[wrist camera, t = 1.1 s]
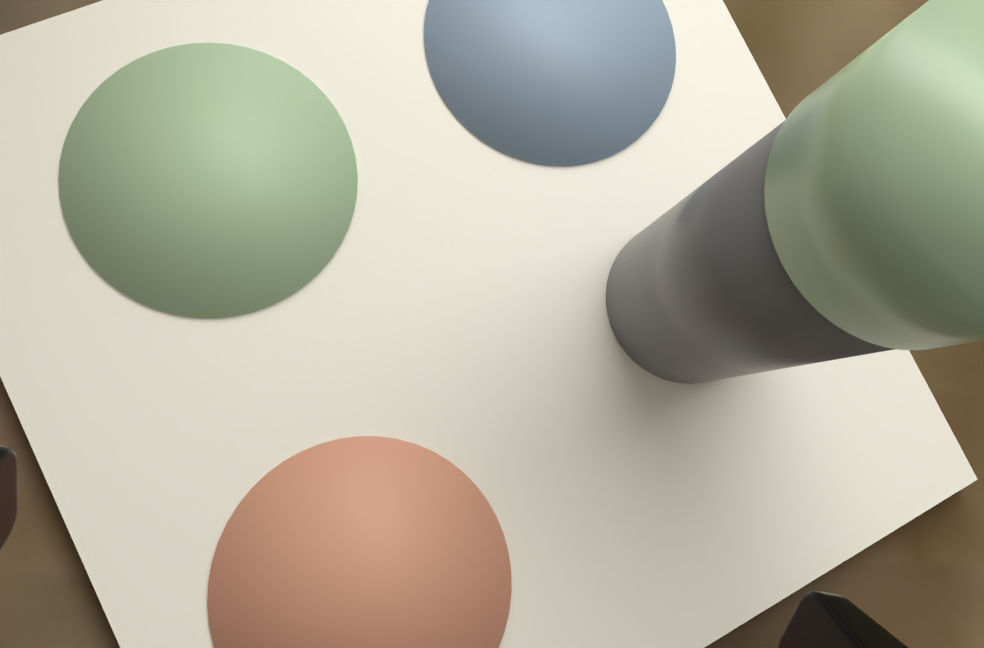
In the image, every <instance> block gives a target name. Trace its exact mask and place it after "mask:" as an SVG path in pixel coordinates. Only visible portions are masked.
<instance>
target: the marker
mask: <svg viewBox="0 0 984 648" xmlns="http://www.w3.org/2000/svg"><path fill="white" fill-rule="evenodd" d="M606 308H607V314H608V318H609V322H610V325H611V328H612V330H613V332H614V335H615V337H616V339H617V340H618V342H619V344H620V345H621V347H622V348H623V349H624V351H625V352H626V353H627V355H628V356H629V357H630V358H631V359H632V360H633V361H634V362H635V363H637V364H638V365H639V366H640V367H642V368H643V369H644V370H646V371H648V372H649V373H651V374H653V375H655V376H657V377H659V378H662V379H664V380H668V381H671V382H677V383H684V384H695V383H702V382H708V381H714V380H720V379H726V378H732V377H737V376H743V375H749V374H755V373H761V372H767V371H772V370H778V369H784V368H790V367H796V366H801V365H807V364H813V363H819V362H825V361H830V360H836V359H842V358H848V357H854V356H859V355H865V354H871V353H877V352H883V351H888V350H894V349H899V350H925V349H933V348H940V347H946V346H952V345H958V344H964V343H971V342H977V341H983V340H984V0H929V1H928V2H926V3H925V4H924V5H923V6H921V7H920V8H919V9H917V10H916V11H915V12H914V13H912V14H911V15H910V16H908V17H907V18H906V19H905V20H903V21H902V22H901V23H900V24H898V25H897V26H896V27H895V28H893V29H892V30H891V31H889V32H888V33H887V34H886V35H884V36H883V37H882V38H881V39H879V40H878V41H877V42H875V43H874V44H873V45H872V46H870V47H869V48H868V49H867V50H865V51H864V52H863V53H861V54H860V55H859V56H858V57H856V58H855V59H854V60H853V61H851V62H850V63H849V64H847V65H846V66H845V67H844V68H842V69H841V70H840V71H839V72H837V73H836V74H835V75H834V76H832V77H831V78H830V79H828V80H827V81H826V82H825V83H823V84H822V85H821V86H820V87H818V88H817V89H816V90H814V91H813V92H812V93H811V94H809V95H808V96H807V97H806V98H804V99H803V100H802V101H801V102H800V103H799V104H798V105H797V106H796V107H795V108H794V109H793V110H792V112H791V113H790V114H789V116H788V117H787V119H786V120H785V121H783V122H782V123H781V124H780V125H778V126H777V127H776V128H774V129H773V130H772V131H771V132H769V133H768V134H767V135H765V136H764V137H763V138H761V139H760V140H759V141H758V142H756V143H755V144H754V145H752V146H751V147H750V148H748V149H747V150H746V151H745V152H743V153H742V154H741V155H739V156H738V157H737V158H735V159H734V160H733V161H732V162H730V163H729V164H728V165H726V166H725V167H724V168H723V169H721V170H720V171H719V172H717V173H716V174H715V175H713V176H712V177H711V178H710V179H708V180H707V181H706V182H704V183H703V184H702V185H700V186H699V187H698V188H697V189H695V190H694V191H693V192H691V193H690V194H689V195H688V196H686V197H685V198H684V199H682V200H681V201H680V202H678V203H677V204H676V205H675V206H673V207H672V208H671V209H669V210H668V211H667V212H665V213H664V214H663V215H662V216H660V217H659V218H658V219H656V220H655V221H654V222H652V223H651V224H650V225H649V226H647V227H646V228H645V229H643V230H642V231H641V232H640V233H638V234H637V235H636V236H634V237H633V238H632V239H631V240H630V241H629V242H628V243H627V244H626V245H625V246H624V247H623V248H622V249H621V251H620V252H619V253H618V255H617V257H616V259H615V260H614V262H613V264H612V267H611V270H610V272H609V276H608V280H607V286H606Z"/></svg>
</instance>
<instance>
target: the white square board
mask: <svg viewBox="0 0 984 648" xmlns="http://www.w3.org/2000/svg"><path fill="white" fill-rule="evenodd" d="M785 120H786V119H785V117H784V115H783V113H782V111H781V109H780V107H779V105H778V104H777V102H776V100H775V98H774V96H773V94H772V92H771V90H770V89H769V87H768V85H767V83H766V81H765V79H764V77H763V75H762V74H761V72H760V70H759V68H758V66H757V64H756V62H755V60H754V59H753V57H752V55H751V53H750V51H749V49H748V47H747V45H746V44H745V42H744V40H743V38H742V36H741V34H740V32H739V30H738V28H737V27H736V25H735V23H734V21H733V19H732V17H731V15H730V13H729V12H728V10H727V8H726V6H725V4H724V2H723V0H103V1H100V2H97V3H94V4H91V5H88V6H85V7H82V8H79V9H76V10H73V11H70V12H67V13H64V14H61V15H58V16H55V17H52V18H49V19H46V20H43V21H40V22H37V23H34V24H31V25H28V26H25V27H22V28H19V29H16V30H13V31H11V32H8V33H5V34H2V35H0V377H1V379H2V382H3V384H4V386H5V388H6V391H7V393H8V395H9V397H10V400H11V402H12V404H13V406H14V409H15V411H16V413H17V415H18V418H19V420H20V422H21V424H22V427H23V429H24V431H25V433H26V436H27V438H28V440H29V443H30V445H31V447H32V449H33V452H34V454H35V456H36V458H37V461H38V463H39V465H40V467H41V470H42V472H43V474H44V476H45V479H46V481H47V483H48V485H49V488H50V490H51V492H52V494H53V497H54V499H55V501H56V504H57V506H58V508H59V510H60V513H61V515H62V517H63V519H64V522H65V524H66V526H67V528H68V531H69V533H70V535H71V537H72V540H73V542H74V544H75V546H76V549H77V551H78V553H79V555H80V558H81V560H82V562H83V564H84V567H85V569H86V571H87V574H88V576H89V578H90V580H91V583H92V585H93V587H94V589H95V592H96V594H97V596H98V598H99V601H100V603H101V605H102V607H103V610H104V612H105V614H106V616H107V619H108V621H109V623H110V625H111V628H112V630H113V632H114V634H115V637H116V639H117V641H118V644H119V646H120V648H704V647H706V646H708V645H709V644H711V643H713V642H714V641H716V640H717V639H719V638H721V637H722V636H724V635H726V634H727V633H729V632H730V631H732V630H734V629H735V628H737V627H739V626H740V625H742V624H743V623H745V622H747V621H748V620H750V619H751V618H753V617H755V616H756V615H758V614H760V613H761V612H763V611H764V610H766V609H768V608H769V607H771V606H773V605H774V604H776V603H777V602H779V601H781V600H782V599H784V598H786V597H787V596H789V595H790V594H792V593H794V592H795V591H797V590H799V589H800V588H802V587H803V586H805V585H807V584H808V583H810V582H812V581H813V580H815V579H816V578H818V577H820V576H821V575H823V574H825V573H826V572H828V571H829V570H831V569H833V568H834V567H836V566H838V565H839V564H841V563H842V562H844V561H846V560H847V559H849V558H851V557H852V556H854V555H855V554H857V553H859V552H860V551H862V550H864V549H865V548H867V547H868V546H870V545H872V544H873V543H875V542H877V541H878V540H880V539H881V538H883V537H885V536H886V535H888V534H890V533H891V532H893V531H894V530H896V529H898V528H899V527H901V526H903V525H904V524H906V523H907V522H909V521H911V520H912V519H914V518H916V517H917V516H919V515H920V514H922V513H924V512H925V511H927V510H929V509H930V508H932V507H933V506H935V505H937V504H938V503H940V502H942V501H943V500H945V499H946V498H948V497H950V496H951V495H953V494H955V493H956V492H958V491H959V490H961V489H963V488H964V487H966V486H968V485H969V484H971V483H972V482H974V481H976V480H977V477H976V476H975V474H974V472H973V470H972V468H971V466H970V464H969V462H968V460H967V459H966V457H965V455H964V453H963V451H962V449H961V447H960V445H959V444H958V442H957V440H956V438H955V436H954V434H953V432H952V430H951V429H950V427H949V425H948V423H947V421H946V419H945V417H944V415H943V414H942V412H941V410H940V408H939V406H938V404H937V402H936V400H935V399H934V397H933V395H932V393H931V391H930V389H929V387H928V385H927V383H926V382H925V380H924V378H923V376H922V374H921V372H920V370H919V368H918V367H917V365H916V363H915V361H914V359H913V357H912V355H911V353H910V352H909V350H899V349H894V350H888V351H883V352H877V353H871V354H865V355H859V356H854V357H848V358H842V359H836V360H830V361H825V362H819V363H813V364H807V365H801V366H796V367H790V368H784V369H778V370H772V371H767V372H761V373H755V374H749V375H743V376H737V377H732V378H726V379H720V380H714V381H708V382H702V383H695V384H684V383H677V382H671V381H668V380H664V379H662V378H659V377H657V376H655V375H653V374H651V373H649V372H648V371H646V370H644V369H643V368H642V367H640V366H639V365H638V364H637V363H635V362H634V361H633V360H632V359H631V358H630V357H629V356H628V355H627V353H626V352H625V351H624V349H623V348H622V347H621V345H620V344H619V342H618V340H617V339H616V337H615V335H614V332H613V330H612V328H611V325H610V322H609V318H608V314H607V308H606V286H607V280H608V276H609V272H610V270H611V267H612V264H613V262H614V260H615V259H616V257H617V255H618V253H619V252H620V251H621V249H622V248H623V247H624V246H625V245H626V244H627V243H628V242H629V241H630V240H631V239H632V238H633V237H634V236H636V235H637V234H638V233H640V232H641V231H642V230H643V229H645V228H646V227H647V226H649V225H650V224H651V223H652V222H654V221H655V220H656V219H658V218H659V217H660V216H662V215H663V214H664V213H665V212H667V211H668V210H669V209H671V208H672V207H673V206H675V205H676V204H677V203H678V202H680V201H681V200H682V199H684V198H685V197H686V196H688V195H689V194H690V193H691V192H693V191H694V190H695V189H697V188H698V187H699V186H700V185H702V184H703V183H704V182H706V181H707V180H708V179H710V178H711V177H712V176H713V175H715V174H716V173H717V172H719V171H720V170H721V169H723V168H724V167H725V166H726V165H728V164H729V163H730V162H732V161H733V160H734V159H735V158H737V157H738V156H739V155H741V154H742V153H743V152H745V151H746V150H747V149H748V148H750V147H751V146H752V145H754V144H755V143H756V142H758V141H759V140H760V139H761V138H763V137H764V136H765V135H767V134H768V133H769V132H771V131H772V130H773V129H774V128H776V127H777V126H778V125H780V124H781V123H782V122H783V121H785Z"/></svg>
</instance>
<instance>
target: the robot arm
mask: <svg viewBox="0 0 984 648" xmlns="http://www.w3.org/2000/svg"><path fill="white" fill-rule="evenodd" d="M17 509H18V479H17V456H16V454H15V452H14V451H13V450H12V449H11V448H9V447H6V446H1V445H0V551H1V549H2V547H3V546H4V544H5V542H6V541H7V539H8V537H9V535H10V533H11V532H12V529H13V527H14V524H15V521H16V517H17ZM778 648H908V647H907V646H906V645H904V644H903V643H902V642H900V641H899V640H898V639H897V638H895V637H894V636H893V635H892V634H890V633H889V632H888V631H887V630H885V629H884V628H883V627H882V626H880V625H879V624H878V623H877V622H875V621H874V620H873V619H872V618H870V617H869V616H868V615H867V614H865V613H864V612H863V611H862V610H860V609H859V608H858V607H857V606H855V605H854V604H853V603H852V602H850V601H849V600H848V599H846V598H845V597H843V596H840V595H836V594H830V593H825V592H819V591H810V592H807V593H806V594H805V595H804V596H803V597H802V598H801V600H800V602H799V604H798V605H797V607H796V609H795V611H794V613H793V615H792V617H791V619H790V621H789V623H788V625H787V626H786V628H785V630H784V632H783V634H782V636H781V638H780V641H779V645H778Z"/></svg>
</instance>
